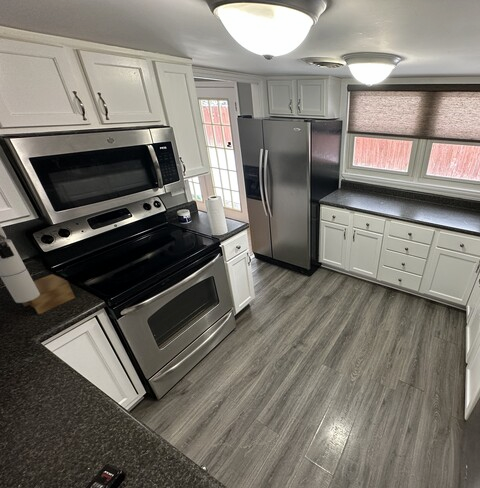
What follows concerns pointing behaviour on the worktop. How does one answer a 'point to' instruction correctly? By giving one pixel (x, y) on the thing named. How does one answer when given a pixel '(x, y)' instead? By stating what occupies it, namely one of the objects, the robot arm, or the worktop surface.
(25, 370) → the worktop surface
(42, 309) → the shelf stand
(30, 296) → the cylindrical container
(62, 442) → the worktop surface
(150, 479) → the worktop surface
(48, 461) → the worktop surface
